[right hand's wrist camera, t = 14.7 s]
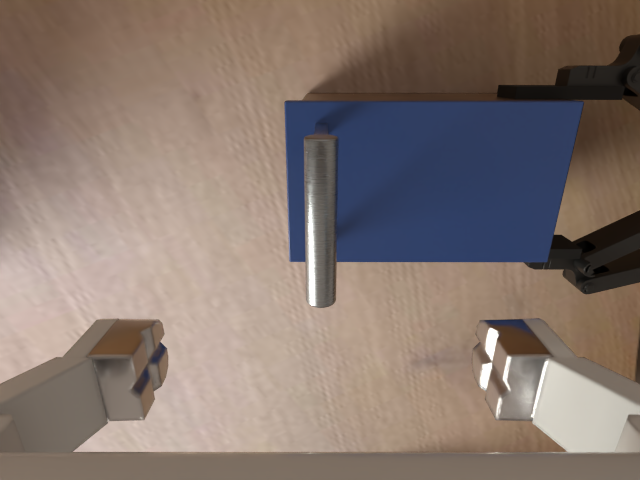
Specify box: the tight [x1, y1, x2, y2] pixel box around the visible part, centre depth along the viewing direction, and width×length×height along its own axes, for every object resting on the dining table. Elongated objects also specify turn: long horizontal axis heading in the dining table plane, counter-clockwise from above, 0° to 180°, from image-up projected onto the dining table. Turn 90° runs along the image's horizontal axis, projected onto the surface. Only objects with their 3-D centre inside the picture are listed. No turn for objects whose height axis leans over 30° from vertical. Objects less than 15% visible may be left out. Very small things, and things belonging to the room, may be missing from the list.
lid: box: [285, 101, 584, 308], centre depth 22 cm, size 17×10×8 cm, turn 90°
